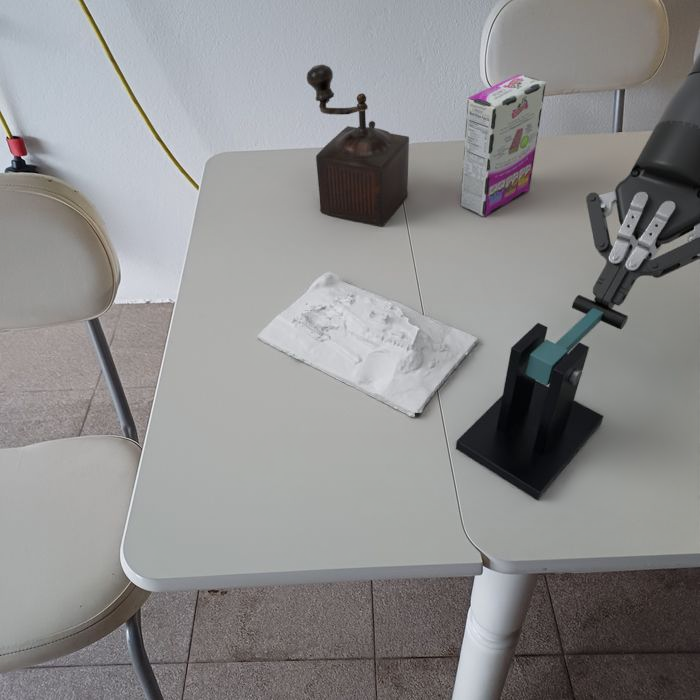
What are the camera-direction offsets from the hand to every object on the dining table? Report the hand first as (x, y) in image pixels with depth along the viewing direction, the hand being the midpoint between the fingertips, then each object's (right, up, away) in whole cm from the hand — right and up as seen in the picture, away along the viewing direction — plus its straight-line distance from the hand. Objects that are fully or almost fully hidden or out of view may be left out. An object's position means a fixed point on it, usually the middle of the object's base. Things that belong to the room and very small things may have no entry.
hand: (602, 304), depth 62 cm
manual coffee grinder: (-24, +18, +36) cm, 47 cm away
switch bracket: (-7, -13, +1) cm, 15 cm away
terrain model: (-22, -3, +13) cm, 26 cm away
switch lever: (-4, -4, -2) cm, 6 cm away
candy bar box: (-3, +18, +35) cm, 40 cm away
